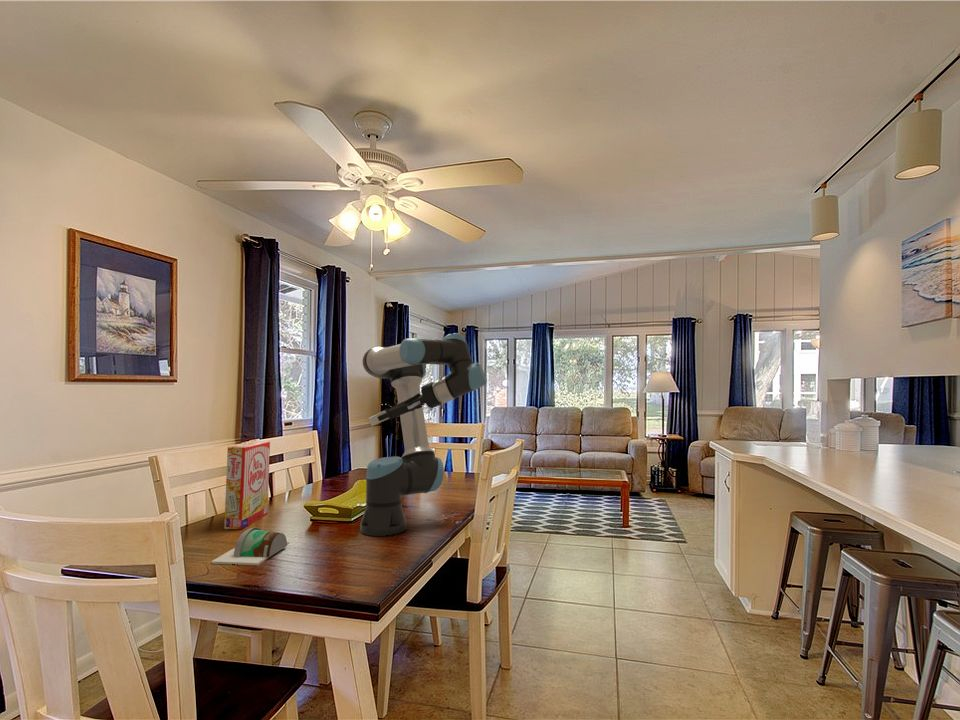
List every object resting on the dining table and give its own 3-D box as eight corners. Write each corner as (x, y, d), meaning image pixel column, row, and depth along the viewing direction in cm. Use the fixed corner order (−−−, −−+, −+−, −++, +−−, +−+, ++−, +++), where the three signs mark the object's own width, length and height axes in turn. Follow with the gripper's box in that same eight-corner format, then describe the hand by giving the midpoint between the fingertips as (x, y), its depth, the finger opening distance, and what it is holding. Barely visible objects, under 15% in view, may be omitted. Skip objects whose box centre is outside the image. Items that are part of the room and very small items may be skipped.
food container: (266, 536, 136) (233, 534, 138) (266, 558, 136) (232, 556, 137) (290, 523, 148) (259, 521, 150) (289, 544, 148) (258, 542, 149)
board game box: (242, 530, 164) (244, 447, 165) (223, 529, 164) (225, 447, 165) (268, 513, 185) (270, 440, 186) (251, 513, 185) (253, 440, 186)
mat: (288, 543, 150) (288, 541, 151) (257, 565, 133) (257, 563, 133) (247, 542, 151) (247, 540, 152) (211, 563, 134) (211, 561, 134)
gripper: (436, 377, 159) (371, 406, 162) (428, 385, 146) (358, 416, 150) (446, 398, 159) (381, 426, 163) (438, 408, 147) (369, 438, 150)
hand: (370, 421), depth 156 cm, fingers closed
